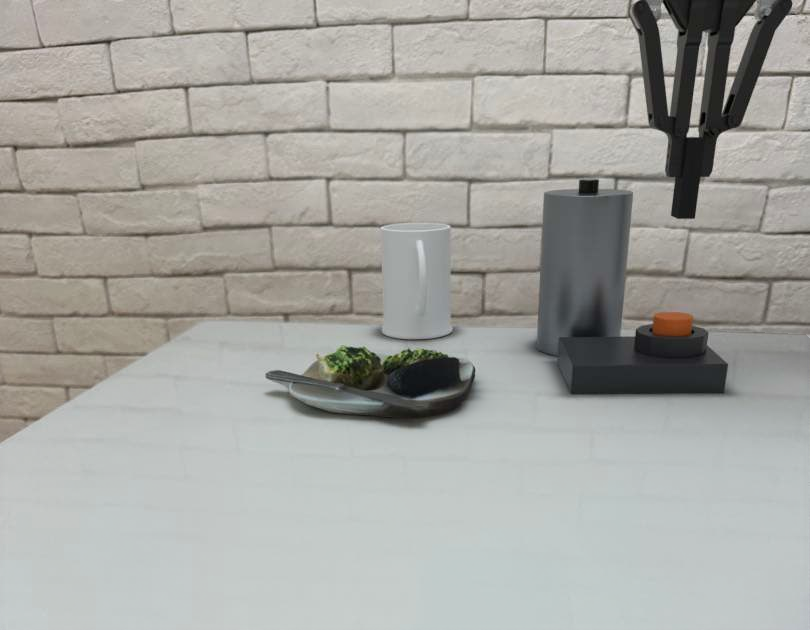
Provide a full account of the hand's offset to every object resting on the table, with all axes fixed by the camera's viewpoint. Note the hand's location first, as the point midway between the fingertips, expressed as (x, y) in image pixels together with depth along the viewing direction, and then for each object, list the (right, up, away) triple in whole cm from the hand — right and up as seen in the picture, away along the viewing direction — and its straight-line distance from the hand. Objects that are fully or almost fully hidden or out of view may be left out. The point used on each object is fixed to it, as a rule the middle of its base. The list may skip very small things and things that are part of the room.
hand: (682, 216), depth 77 cm
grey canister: (-6, -8, +18) cm, 20 cm away
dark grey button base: (-2, -13, +7) cm, 15 cm away
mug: (-24, -5, +25) cm, 35 cm away
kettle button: (0, -9, +5) cm, 11 cm away
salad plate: (-27, -16, +4) cm, 31 cm away
